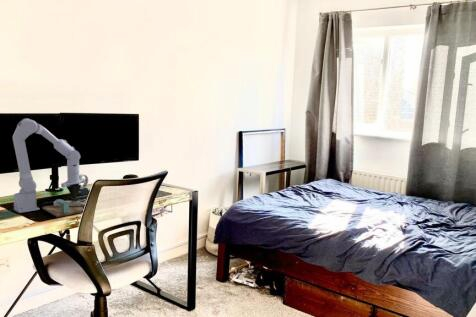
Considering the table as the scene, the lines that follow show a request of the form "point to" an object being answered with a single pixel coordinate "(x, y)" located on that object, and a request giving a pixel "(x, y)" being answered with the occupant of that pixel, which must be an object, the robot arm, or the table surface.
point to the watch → (83, 189)
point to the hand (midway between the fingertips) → (74, 198)
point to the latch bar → (73, 203)
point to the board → (58, 210)
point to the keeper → (63, 205)
